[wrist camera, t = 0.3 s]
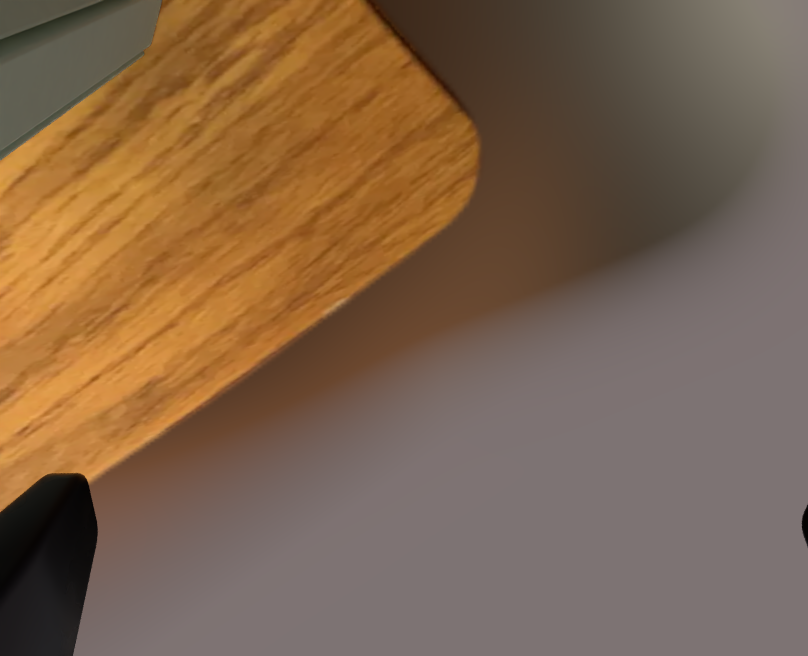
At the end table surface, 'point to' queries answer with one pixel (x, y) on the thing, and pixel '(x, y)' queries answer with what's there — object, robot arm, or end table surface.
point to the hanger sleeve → (63, 56)
